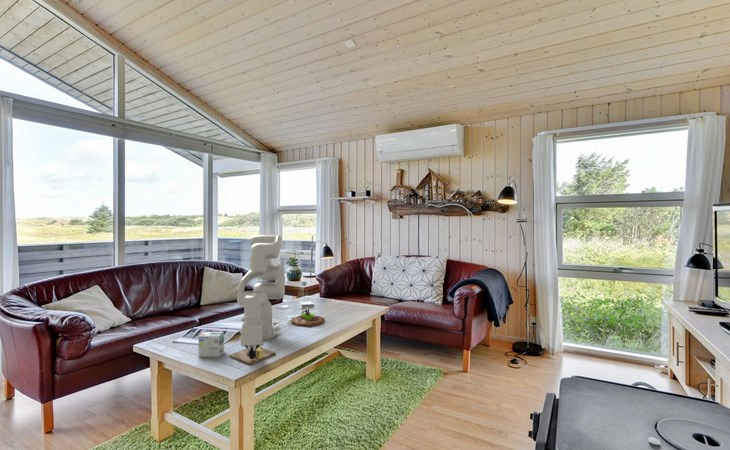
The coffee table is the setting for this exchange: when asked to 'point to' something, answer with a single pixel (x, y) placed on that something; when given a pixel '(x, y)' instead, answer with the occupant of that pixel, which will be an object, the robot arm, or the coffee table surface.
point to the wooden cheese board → (246, 359)
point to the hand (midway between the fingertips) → (252, 357)
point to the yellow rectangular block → (257, 353)
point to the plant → (307, 319)
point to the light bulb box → (211, 344)
